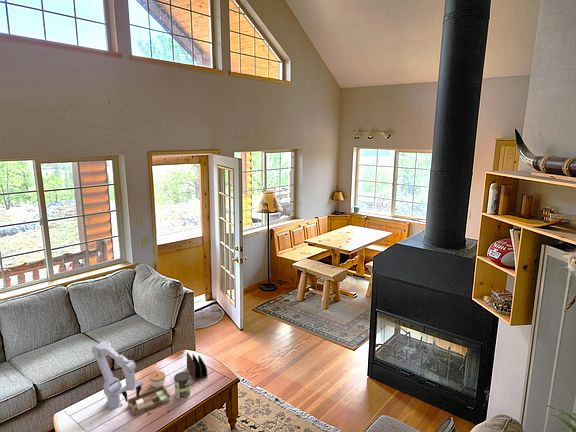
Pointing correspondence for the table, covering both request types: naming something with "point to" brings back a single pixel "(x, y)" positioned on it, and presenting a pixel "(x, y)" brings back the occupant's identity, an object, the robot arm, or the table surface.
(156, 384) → the lidded jar
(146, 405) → the board
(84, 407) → the table surface
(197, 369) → the letter holder
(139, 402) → the cream block
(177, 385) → the coffee can
